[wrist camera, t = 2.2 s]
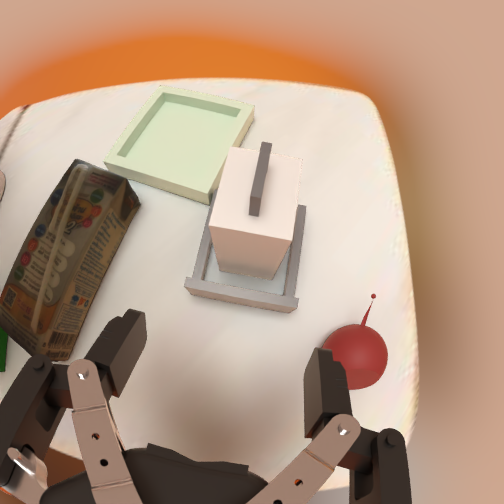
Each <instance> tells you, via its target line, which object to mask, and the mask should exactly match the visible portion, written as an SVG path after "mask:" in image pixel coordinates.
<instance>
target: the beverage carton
mask: <svg viewBox="0 0 504 504" xmlns="http://www.w3.org/2000/svg"><path fill="white" fill-rule="evenodd" d="M140 205H141V204H140V202H139V200H138V197H137V195H136V193H135V192H134V191H133V189H132V188H131V186H130V184H129V182H128V180H127V178H125V177H123V176H121V175H118V174H115V173H113V172H110V171H107V170H104V169H102V168H99V167H97V166H95V165H92V164H90V163H87V162H85V161H82V160H79V159H75V160H74V161H73V163H72V164H71V166H70V167H69V168H68V170H67V171H66V173H65V174H64V176H63V177H62V179H61V180H60V182H59V183H58V185H57V186H56V188H55V189H54V191H53V192H52V194H51V195H50V197H49V198H48V200H47V202H46V203H45V205H44V207H43V208H42V210H41V212H40V214H39V215H38V217H37V219H36V221H35V222H34V224H33V226H32V228H31V230H30V232H29V234H28V236H27V237H26V239H25V241H24V243H23V245H22V247H21V250H20V252H19V254H18V256H17V258H16V260H15V262H14V264H13V267H12V269H11V272H10V274H9V276H8V279H7V281H6V284H5V286H4V289H3V291H2V294H1V297H0V327H1V328H2V329H3V330H4V331H5V332H6V333H7V334H8V335H9V336H10V337H11V338H12V339H13V340H14V341H15V342H16V343H18V344H19V345H20V346H21V347H22V348H23V349H25V350H26V351H27V352H28V353H29V354H30V355H31V356H34V355H37V354H43V355H46V356H48V357H49V358H50V359H51V361H55V362H58V361H66V360H68V358H69V355H70V353H71V350H72V348H73V345H74V343H75V340H76V338H77V336H78V333H79V331H80V328H81V326H82V323H83V321H84V319H85V316H86V314H87V312H88V309H89V307H90V304H91V302H92V300H93V298H94V295H95V293H96V291H97V289H98V287H99V284H100V282H101V280H102V278H103V276H104V274H105V272H106V270H107V268H108V266H109V264H110V262H111V260H112V258H113V256H114V254H115V252H116V250H117V248H118V246H119V244H120V242H121V240H122V238H123V237H124V235H125V233H126V231H127V228H128V226H129V224H130V222H131V221H132V219H133V217H134V215H135V213H136V212H137V210H138V208H139V207H140Z"/></svg>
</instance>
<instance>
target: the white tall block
mask: <svg viewBox="0 0 504 504" xmlns="http://www.w3.org/2000/svg"><path fill="white" fill-rule="evenodd" d="M271 147H272V143H267V142H262V144H261V149H260V151H257V150H251V149H245V148H238V147H232V146H230V149H229V152H228V156H227V159H226V163H225V166H224V170H223V173H222V177H221V180H220V184H219V188H218V191H217V195H216V199H215V203H214V206H213V210H212V214H211V218H210V222H209V229H210V233H211V237H212V241H213V246H214V250H215V254H216V258H217V262H218V266H219V270H220V271H225V272H230V273H236V274H241V275H246V276H251V277H257V278H262V279H267V280H272V279H273V277H274V275H275V273H276V271H277V269H278V267H279V265H280V263H281V261H282V259H283V258H284V256H285V254H286V252H287V250H288V248H289V246H290V244H291V242H292V238H293V231H294V223H295V216H296V209H297V201H298V193H299V186H300V178H301V169H302V161H303V159H299V158H294V157H289V156H284V155H279V154H273V153H271Z"/></svg>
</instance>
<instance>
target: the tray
mask: <svg viewBox="0 0 504 504" xmlns="http://www.w3.org/2000/svg"><path fill="white" fill-rule="evenodd" d="M254 107H255V106H254V105H251V104H247V103H243V102H239V101H235V100H231V99H227V98H223V97H219V96H214V95H210V94H205V93H200V92H195V91H190V90H185V89H179V88H173V87H167V86H161V85H160V86H159V87H158V88H157V90H156V91H155V92H154V93H153V94H152V96H151V97H150V98H149V99H148V100H147V102H146V103H145V104H144V105H143V107H142V108H141V109H140V110H139V112H138V113H137V114H136V116H135V117H134V118H133V119H132V121H131V122H130V123H129V125H128V126H127V127H126V129H125V130H124V132H123V133H122V134H121V136H120V137H119V139H118V140H117V141H116V143H115V144H114V146H113V147H112V149H111V150H110V152H109V153H108V155H107V156H106V158H105V159H104V161H103V162H104V164H105V165H106V167H107V168H108V170H109V171H110V172H113V173H115V174H118V175H121V176H123V177H125V178H128V179H131V180H134V181H137V182H140V183H144V184H147V185H150V186H153V187H156V188H159V189H162V190H165V191H168V192H171V193H174V194H177V195H180V196H183V197H186V198H189V199H192V200H195V201H198V202H201V203H203V204H206V205H209V206H210V204H211V201H212V198H213V194H214V190H215V189H218V187H219V184H220V180H221V177H222V173H223V170H224V166H225V163H226V159H227V156H228V152H229V149H230V146H232V147H238V148H239V146H240V144H241V142H242V140H243V138H244V136H245V134H246V133H247V131H248V129H249V127H250V125H251V123H252V121H253V120H254Z"/></svg>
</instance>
